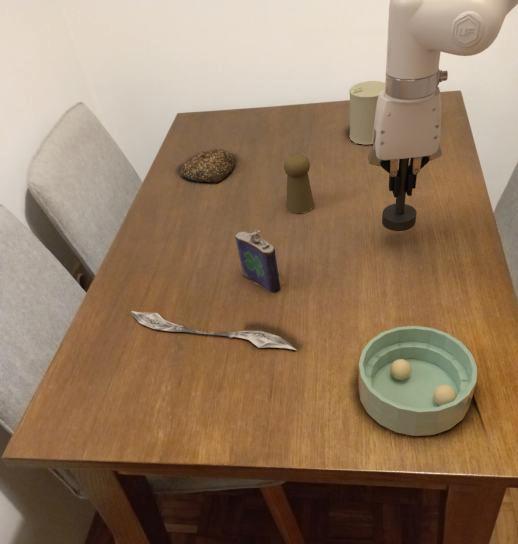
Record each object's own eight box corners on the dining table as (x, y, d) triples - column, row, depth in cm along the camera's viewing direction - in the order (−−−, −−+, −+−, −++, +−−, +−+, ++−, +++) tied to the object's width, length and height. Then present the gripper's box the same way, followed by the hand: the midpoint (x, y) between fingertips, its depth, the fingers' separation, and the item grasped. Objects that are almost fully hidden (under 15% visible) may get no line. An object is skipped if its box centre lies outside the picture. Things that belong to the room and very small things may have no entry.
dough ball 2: (455, 381, 70) (432, 381, 71) (455, 403, 69) (432, 403, 70) (457, 388, 73) (434, 388, 74) (457, 409, 72) (434, 409, 73)
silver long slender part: (132, 310, 95) (119, 329, 92) (131, 307, 95) (118, 326, 92) (303, 332, 86) (296, 354, 83) (303, 329, 85) (295, 351, 82)
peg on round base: (416, 213, 98) (423, 146, 88) (414, 232, 94) (422, 165, 85) (383, 212, 99) (387, 146, 90) (380, 230, 95) (384, 164, 86)
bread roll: (216, 188, 122) (212, 168, 118) (175, 179, 127) (169, 159, 124) (245, 162, 129) (242, 142, 125) (205, 154, 134) (201, 135, 131)
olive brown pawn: (282, 213, 111) (277, 164, 103) (290, 197, 115) (285, 149, 107) (310, 214, 109) (307, 165, 101) (317, 199, 113) (314, 150, 105)
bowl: (454, 350, 79) (460, 321, 75) (483, 434, 69) (491, 407, 65) (353, 357, 81) (353, 330, 77) (365, 441, 70) (366, 415, 66)
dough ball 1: (397, 367, 73) (388, 356, 76) (394, 385, 75) (384, 373, 77) (417, 365, 74) (407, 354, 76) (413, 382, 75) (403, 371, 78)
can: (344, 132, 133) (344, 83, 124) (379, 125, 133) (381, 75, 124) (355, 148, 126) (356, 97, 118) (392, 141, 127) (395, 89, 118)
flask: (239, 275, 98) (230, 226, 91) (251, 267, 100) (243, 219, 92) (273, 295, 93) (267, 246, 86) (285, 287, 94) (279, 237, 87)
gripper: (458, 67, 81) (442, 177, 94) (355, 80, 82) (353, 186, 95) (471, 86, 75) (452, 199, 89) (360, 99, 77) (358, 208, 90)
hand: (401, 192), depth 92 cm, fingers closed on peg on round base
